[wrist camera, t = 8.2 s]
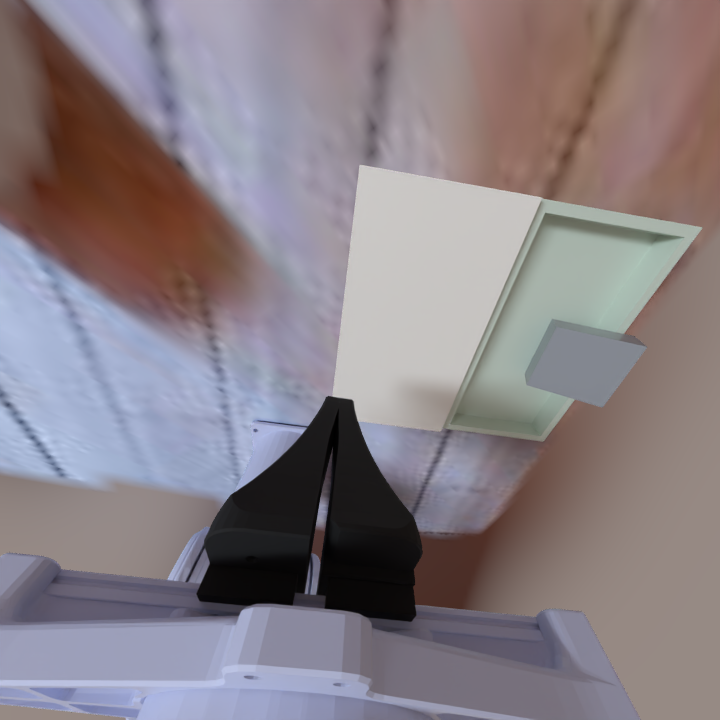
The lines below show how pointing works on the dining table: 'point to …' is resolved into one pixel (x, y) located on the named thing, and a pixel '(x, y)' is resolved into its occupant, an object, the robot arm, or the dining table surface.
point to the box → (561, 307)
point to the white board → (421, 291)
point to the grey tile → (582, 361)
